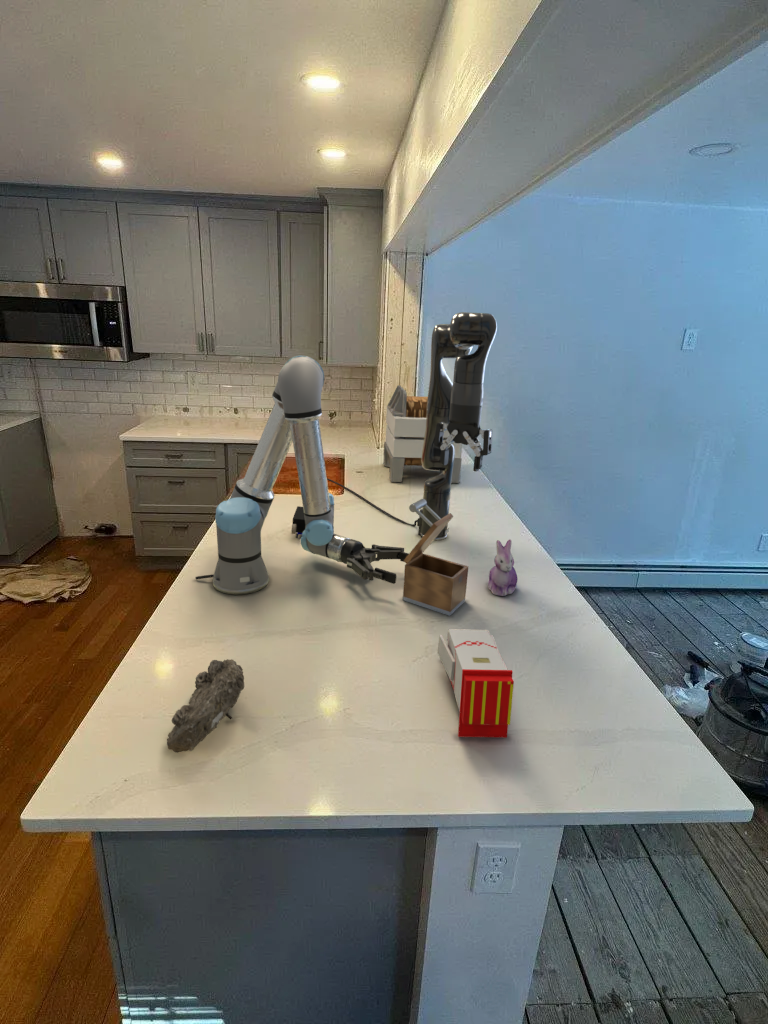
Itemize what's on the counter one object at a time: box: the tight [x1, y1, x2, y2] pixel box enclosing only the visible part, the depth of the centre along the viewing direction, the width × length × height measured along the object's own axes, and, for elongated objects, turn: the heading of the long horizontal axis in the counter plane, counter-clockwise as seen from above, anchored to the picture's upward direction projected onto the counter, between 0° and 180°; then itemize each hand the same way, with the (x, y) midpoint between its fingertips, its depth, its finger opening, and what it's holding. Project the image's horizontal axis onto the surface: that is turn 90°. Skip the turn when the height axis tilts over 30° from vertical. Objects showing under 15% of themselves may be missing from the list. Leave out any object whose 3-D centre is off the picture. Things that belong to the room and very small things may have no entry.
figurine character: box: [291, 505, 306, 539], centre depth 196 cm, size 7×8×15 cm
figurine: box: [487, 538, 518, 597], centre depth 160 cm, size 9×10×15 cm
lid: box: [403, 498, 454, 564], centre depth 152 cm, size 15×10×9 cm
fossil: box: [166, 658, 245, 754], centre depth 106 cm, size 22×10×15 cm
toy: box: [437, 628, 515, 738], centre depth 117 cm, size 12×13×30 cm
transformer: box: [383, 384, 463, 484], centre depth 268 cm, size 34×33×41 cm
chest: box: [402, 552, 469, 617], centre depth 153 cm, size 14×10×11 cm
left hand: (408, 570), depth 157 cm, fingers open, 13 cm apart
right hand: (460, 467), depth 140 cm, fingers open, 8 cm apart
